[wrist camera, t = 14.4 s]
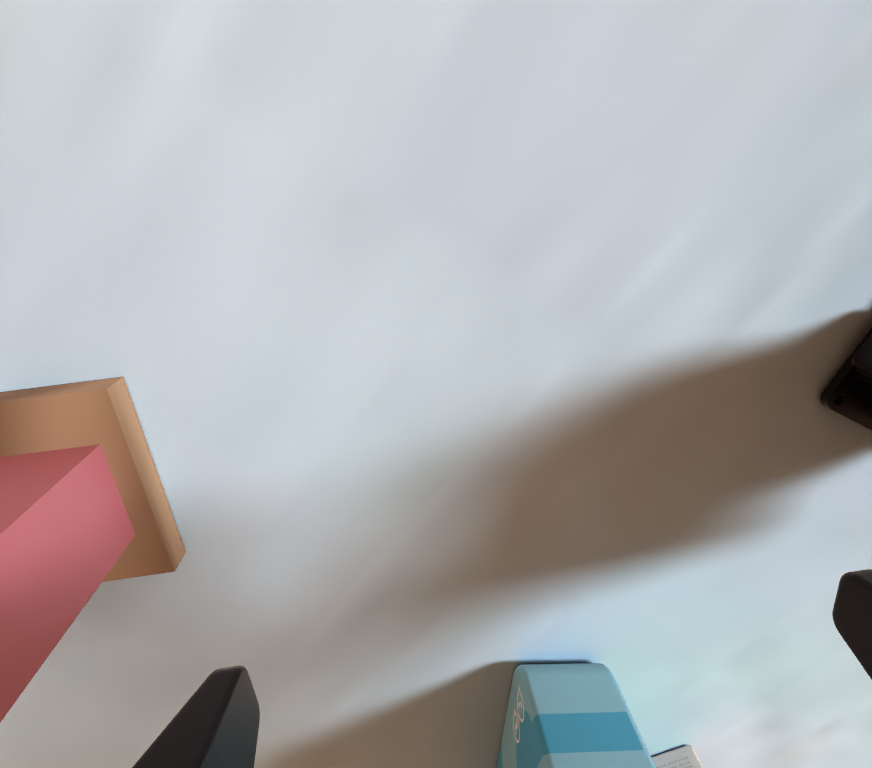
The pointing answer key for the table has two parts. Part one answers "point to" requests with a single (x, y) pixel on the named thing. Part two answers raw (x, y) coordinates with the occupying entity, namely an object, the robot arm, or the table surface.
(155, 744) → the robot arm
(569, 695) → the data package
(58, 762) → the table surface
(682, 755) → the supplement box
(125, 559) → the tan flat rectangular slab
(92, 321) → the table surface
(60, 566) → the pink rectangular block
